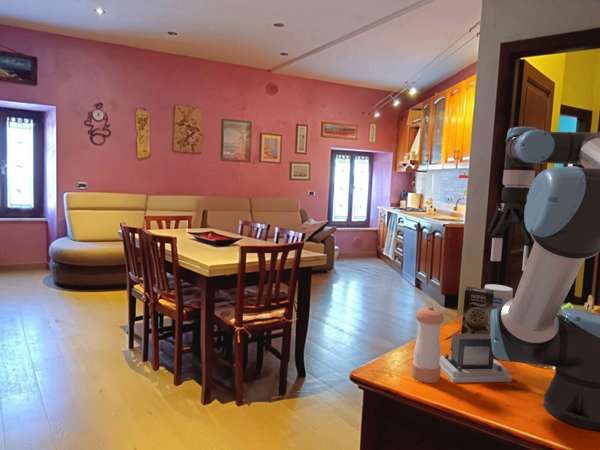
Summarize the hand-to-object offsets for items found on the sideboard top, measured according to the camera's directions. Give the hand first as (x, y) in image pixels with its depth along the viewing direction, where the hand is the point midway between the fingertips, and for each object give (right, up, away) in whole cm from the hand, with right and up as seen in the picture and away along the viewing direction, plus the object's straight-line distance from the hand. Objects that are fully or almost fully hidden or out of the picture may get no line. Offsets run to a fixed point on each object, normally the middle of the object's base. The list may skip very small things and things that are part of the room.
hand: (510, 265), depth 123 cm
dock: (-10, -29, +1) cm, 31 cm away
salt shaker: (-24, -29, -3) cm, 38 cm away
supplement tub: (+13, -26, +40) cm, 49 cm away
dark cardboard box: (+2, -27, +29) cm, 40 cm away
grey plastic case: (-10, -28, +1) cm, 30 cm away
